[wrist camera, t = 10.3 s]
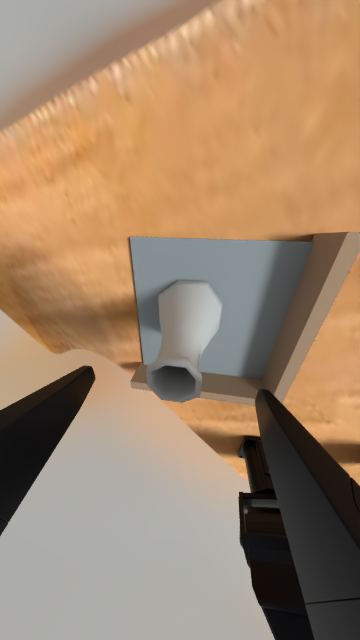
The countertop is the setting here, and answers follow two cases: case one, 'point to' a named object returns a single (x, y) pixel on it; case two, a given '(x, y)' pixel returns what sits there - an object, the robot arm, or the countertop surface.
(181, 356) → the flask
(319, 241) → the corner arena
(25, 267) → the countertop surface
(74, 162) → the countertop surface
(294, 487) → the robot arm
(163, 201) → the countertop surface
